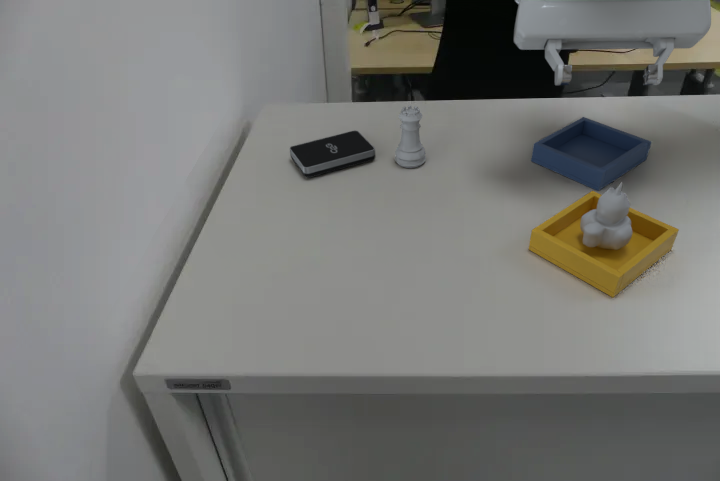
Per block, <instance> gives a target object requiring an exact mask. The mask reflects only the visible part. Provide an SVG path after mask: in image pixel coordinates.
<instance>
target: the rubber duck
mask: <svg viewBox="0 0 720 481" xmlns="http://www.w3.org/2000/svg"><path fill="white" fill-rule="evenodd" d="M622 190H623V181H621V182H620V183H619V185H618V186H617V187H616V188H614V187H612V186H611V187H609V188H608V189H607V190H606V191H605V192H604V193H602V194H601V196H600V198H599V200H598V204H597V209H594V210H591V211H589V212H587V213H586V214H584V215H583V216H582V218H581V223H580V228H581V231H582V232H583V233H584V236H583V244H584V245H586V246H587V247H596V246H598V247H600V248H603V249H614V250H618V249H620V248H622V247H623V246H625V245H626V244H628V243H629V241H630V239H631V237H632V228H631V220H630V218H629V217H628V216H627V214H628V212H629V208H631V203H630V200H629V199H628V194H627V193H625V192H624V191H622Z"/></svg>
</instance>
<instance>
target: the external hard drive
mask: <svg viewBox="0 0 720 481" xmlns="http://www.w3.org/2000/svg"><path fill="white" fill-rule="evenodd" d="M289 154H290V158H291V159H292V161H293V162H294V164H295V165H296V167H297V168H298V169H299V170H300V172H301V174H302V175H303V176H304V177H305V178H307V179H309V178H313V177H316V176H321V175H323V174H324V175H325V174H328V173H331V172H334V171H338V170H343V169H346V168H349V167H350V168H351V167H353V166H356V165H361V164H363V163H367V162H371V161H374V160H375V159H376V147H375V146H374V145H373V144H372V143H371V142H370V141H369V140H368V139H367V138H366V137H365V136H364V135H363V134H362V133H361V131H359V130H357V129H356V130H355V129H354V130H350V131H346V132H342V133H338V134H333V135H330V136H326V137H322V138H318V139H315V140H310V141H306V142H302V143H298V144H295V145H291V146H289Z"/></svg>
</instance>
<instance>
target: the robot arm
mask: <svg viewBox="0 0 720 481" xmlns="http://www.w3.org/2000/svg"><path fill="white" fill-rule="evenodd" d="M514 2H515V3H516V4H517V5H518V6H517V10H516V16H515V22H514V27H513V28H514V29H513V43H514V44H515V46H516V47H517V48H518V49H519V50H521V51H525V50H526V51H527V50H529V51H531V50H534V51H535V50H537V51H538V50H540V51H542V50H544V59H545V60H546V63H547V64H548V65H549V66H550V68H551V70H552V71H553V72H554V85H555V86H569V85H570V83H571V82H572V76H573V74H572V71H573V65H572V64H565V63H564V61H563V59H562V58H561V56H560V52H561V50H648V49H649V50H650V49H651V50H652V57H654V58H657V59H656V60H655V62H654V64H651V63H650V64H648V65H647V66H646V68H644V69H643V70H642V78H643V80H642V85H643V86H659V85H660V84H661V83H662V81H663V78H664V65H665V64H666V62H667V60H668V59H669V57H670V56H671V54H672V53H673V51H674V49H691V48H693V47H695V46H696V45H697V44H698V43H699V42H700V41H701V40H702V39H704V37H705V36H706V35H707V34H708V33H709V31H710V29H711V26H712V8H711V0H514Z"/></svg>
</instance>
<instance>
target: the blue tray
mask: <svg viewBox="0 0 720 481" xmlns="http://www.w3.org/2000/svg"><path fill="white" fill-rule="evenodd" d="M652 143H653V142H652V140H649V139H646V138H644V137H640V136H637V135H636V134H635V135H634V134H632V133H629V132H626V131H623V130H621V129H618V128H615V127H612V126H609V125H607V124H605V123H602V122H598V121H596V120H593V119H590V118H588V117H585V116H582V117H580V118H579V119H576V120H575V121H573V122H571V123H569V124H567V125H565V126H564V127H562V128H560V129H558V130H556V131H554V132H552V133H550V134H548V135H547V136H545V137H543V138H541V139H539V140H538V141H535V142H534V143H533V147H532V151H531V152H532V153H531V158H530V161H531V162H532V163H535V164H537V165H539V166H541V167H543V168H546V169H548V170H550V171H552V172H555V173H557V174H558V175H561V176H564V177H566V178H568V179H570V180H572V181H574V182H577V183H578V184H582V185H584V186H586V187H588V188H590V189H593V190H594V191H596V192H600V191H601V190H602V189H603V188H605V187H607V186H608V185H610V184H611V183H613V182H614V181H616V180H617V179H619V178H620V177H622V176H623V175H625V174H627V173H628V172H630V171H631V170H633V169H634V168H636V167H637V166H639V165H641V164H642V163H643V162H645V161H646V160H647V159H648V156H649V152H650V149H651V146H652Z"/></svg>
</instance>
